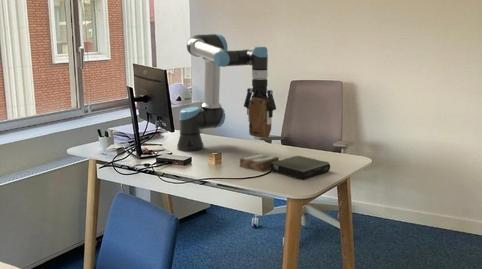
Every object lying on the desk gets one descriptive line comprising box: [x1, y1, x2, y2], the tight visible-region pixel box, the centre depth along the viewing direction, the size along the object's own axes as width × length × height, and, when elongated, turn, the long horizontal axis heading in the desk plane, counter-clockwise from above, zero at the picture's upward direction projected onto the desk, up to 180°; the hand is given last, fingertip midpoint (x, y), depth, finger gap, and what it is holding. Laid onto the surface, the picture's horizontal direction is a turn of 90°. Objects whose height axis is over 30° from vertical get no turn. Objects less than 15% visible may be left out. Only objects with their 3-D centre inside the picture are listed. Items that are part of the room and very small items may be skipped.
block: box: [248, 96, 273, 139], centre depth 263 cm, size 11×8×20 cm
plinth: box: [239, 153, 279, 172], centre depth 268 cm, size 14×14×4 cm
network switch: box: [270, 155, 331, 181], centre depth 258 cm, size 23×23×5 cm
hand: (259, 122), depth 264 cm, fingers closed on block, 11 cm apart
